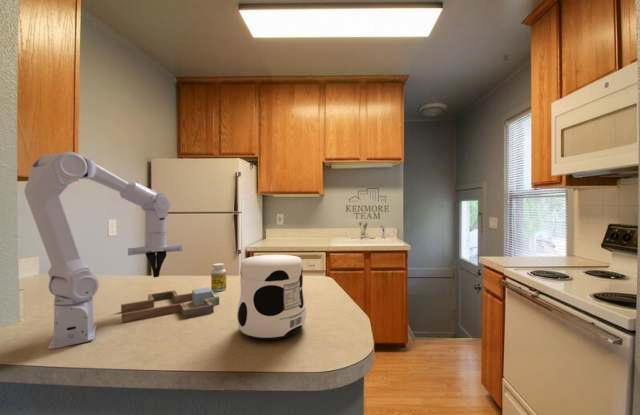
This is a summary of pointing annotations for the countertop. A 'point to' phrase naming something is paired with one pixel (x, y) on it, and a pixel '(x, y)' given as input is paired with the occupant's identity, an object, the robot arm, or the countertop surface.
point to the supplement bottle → (218, 277)
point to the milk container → (271, 297)
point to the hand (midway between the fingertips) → (156, 276)
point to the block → (200, 296)
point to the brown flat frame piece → (168, 309)
